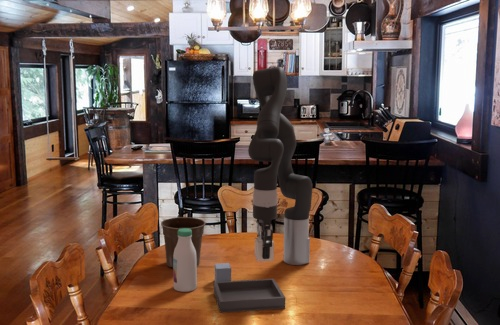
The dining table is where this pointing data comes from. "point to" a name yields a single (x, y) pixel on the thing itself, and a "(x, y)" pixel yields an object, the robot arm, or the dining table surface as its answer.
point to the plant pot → (171, 235)
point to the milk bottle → (184, 262)
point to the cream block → (259, 250)
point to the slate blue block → (222, 272)
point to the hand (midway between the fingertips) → (264, 255)
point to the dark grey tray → (248, 295)
